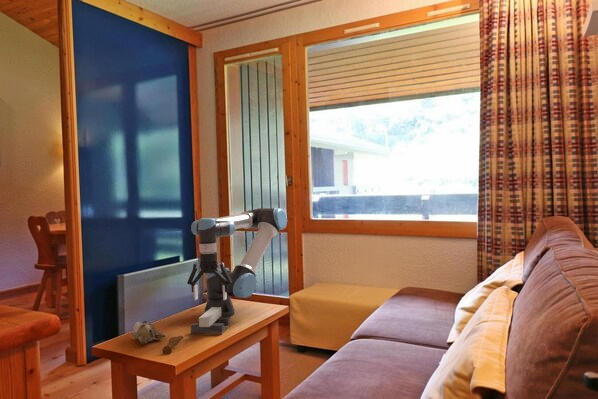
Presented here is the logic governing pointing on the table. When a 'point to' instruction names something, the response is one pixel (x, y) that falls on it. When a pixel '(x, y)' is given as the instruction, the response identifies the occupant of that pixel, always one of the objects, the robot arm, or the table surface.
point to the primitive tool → (171, 344)
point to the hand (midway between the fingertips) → (210, 299)
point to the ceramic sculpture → (146, 332)
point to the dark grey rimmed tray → (212, 327)
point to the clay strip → (210, 317)
